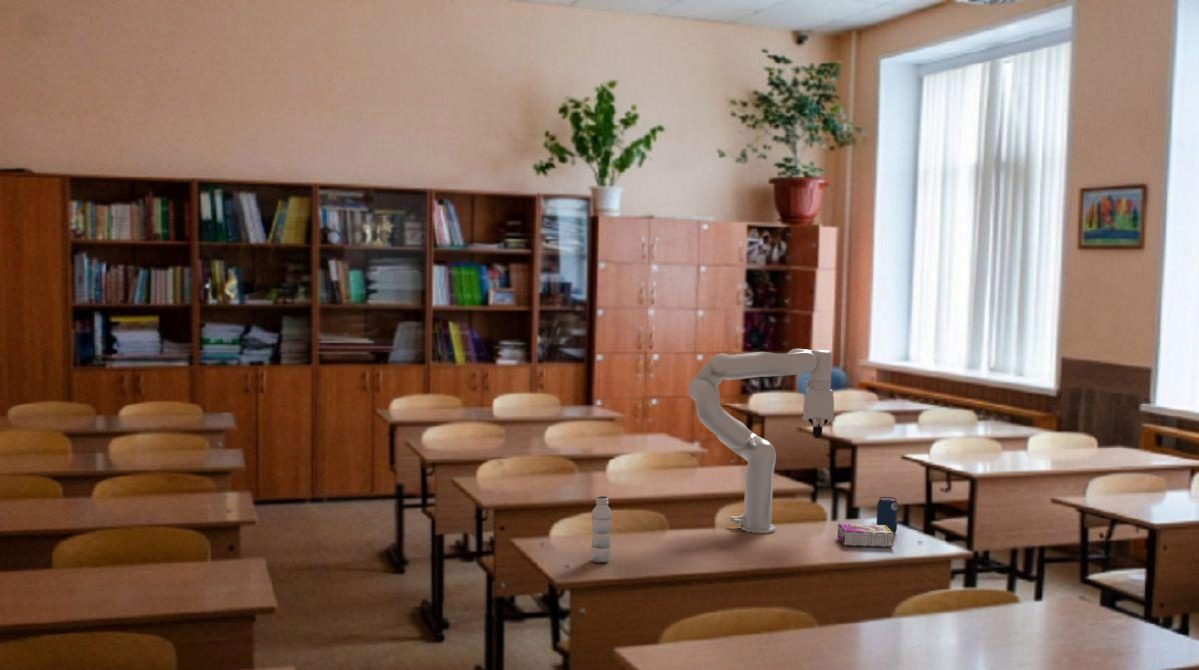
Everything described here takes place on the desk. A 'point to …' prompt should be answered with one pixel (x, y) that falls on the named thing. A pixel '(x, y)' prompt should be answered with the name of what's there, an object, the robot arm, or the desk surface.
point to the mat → (869, 546)
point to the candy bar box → (865, 535)
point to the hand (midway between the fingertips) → (817, 437)
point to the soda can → (887, 513)
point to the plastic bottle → (601, 531)
